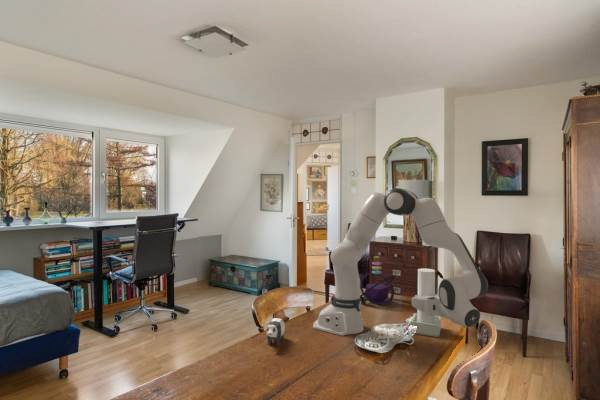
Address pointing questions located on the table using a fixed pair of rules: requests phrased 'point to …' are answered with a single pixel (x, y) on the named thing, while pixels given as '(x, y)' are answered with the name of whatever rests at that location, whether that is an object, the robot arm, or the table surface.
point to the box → (427, 326)
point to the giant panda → (275, 331)
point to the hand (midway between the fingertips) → (424, 296)
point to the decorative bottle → (377, 286)
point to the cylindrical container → (426, 292)
